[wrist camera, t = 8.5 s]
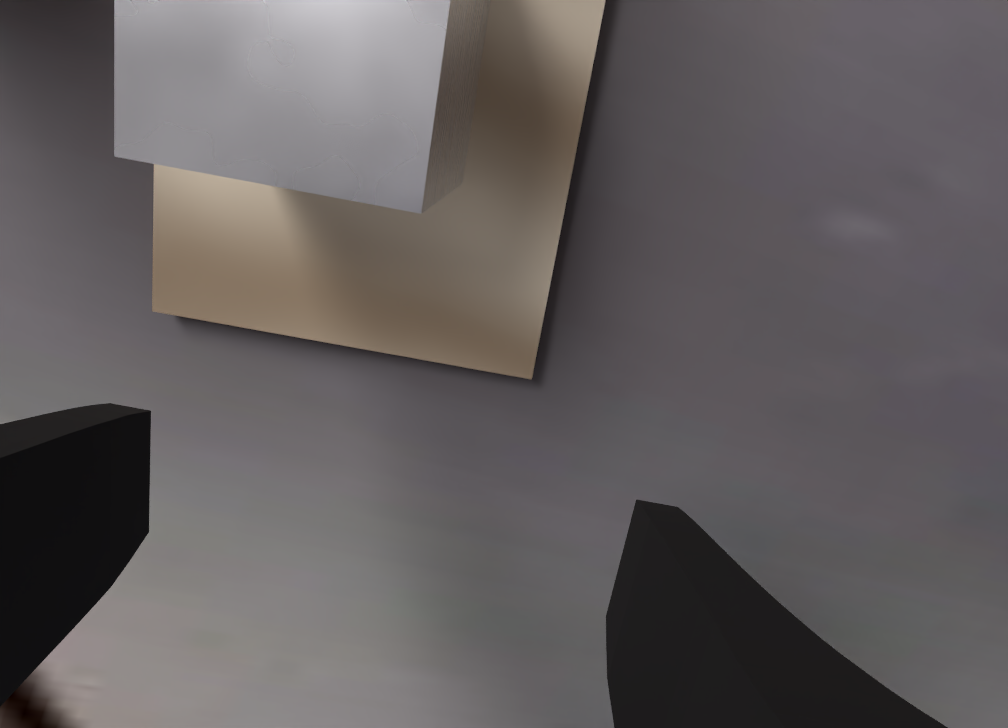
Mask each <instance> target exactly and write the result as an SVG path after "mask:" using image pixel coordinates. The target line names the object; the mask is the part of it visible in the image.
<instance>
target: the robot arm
mask: <svg viewBox="0 0 1008 728" xmlns="http://www.w3.org/2000/svg"><path fill="white" fill-rule="evenodd" d="M150 429H151V411H149V410H143V409H138V408H132V407H127V406H121V405H116V404H111V403H109V404H98V405H90V406H84V407H78V408H72V409H67V410H62V411H58V412H53V413H48V414H44V415H39V416H35V417H31V418H26V419H22V420H17V421H13V422H9V423H4V424H0V706H1V705H2V704H3V703H4V702H5V701H6V700H7V699H8V697H9V696H10V695H11V694H12V693H13V692H14V691H15V690H16V689H17V688H18V687H19V686H20V685H21V684H22V683H23V681H24V680H25V679H26V678H27V677H28V676H29V675H30V674H31V673H32V672H33V671H34V670H35V669H36V668H37V667H38V665H39V664H40V663H41V662H42V661H43V660H44V659H45V658H46V657H47V656H48V655H49V654H50V653H51V652H52V651H53V649H54V648H55V647H56V646H57V645H58V644H59V643H60V642H61V641H62V640H63V639H64V638H65V637H66V636H67V635H68V633H69V632H70V631H71V630H72V629H73V628H74V627H75V626H76V625H77V624H78V623H79V622H80V620H81V619H82V618H83V617H84V616H85V615H86V614H87V613H88V612H89V611H90V610H91V608H92V607H93V606H94V605H95V604H96V603H97V602H98V601H99V600H100V599H101V597H102V596H103V595H104V594H105V593H106V592H107V591H108V590H109V588H110V587H111V586H112V585H113V583H114V582H115V580H116V579H117V578H118V576H119V575H120V574H121V572H122V571H123V569H124V568H125V567H126V565H127V564H128V562H129V561H130V560H131V558H132V557H133V555H134V554H135V552H136V551H137V549H138V548H139V546H140V545H141V543H142V542H143V540H144V539H145V537H146V536H147V534H148V533H149V488H150ZM606 650H607V679H608V687H609V694H610V701H611V707H612V714H613V721H614V727H615V728H947V727H946V726H944V725H943V724H941V723H940V722H938V721H936V720H935V719H933V718H932V717H930V716H928V715H927V714H925V713H924V712H922V711H920V710H919V709H917V708H916V707H914V706H913V705H911V704H910V703H908V702H907V701H905V700H904V699H902V698H901V697H900V696H898V695H897V694H895V693H894V692H892V691H891V690H889V689H888V688H886V687H885V686H884V685H882V684H881V683H879V682H878V681H877V680H875V679H874V678H873V677H871V676H870V675H869V674H867V673H866V672H865V671H863V670H862V669H860V668H859V667H858V666H856V665H855V664H854V663H852V662H851V661H850V660H848V659H847V658H845V657H844V656H843V655H841V654H840V653H839V652H837V651H836V650H835V649H834V648H832V647H831V646H830V645H829V644H827V643H826V642H825V641H824V640H822V639H821V638H820V637H819V636H817V635H816V634H815V633H814V632H813V631H811V630H810V629H809V628H808V627H807V626H806V625H804V624H803V623H802V622H801V621H800V620H799V619H797V618H796V617H795V616H794V615H793V614H792V613H790V612H789V611H788V610H787V609H786V608H785V607H783V606H782V605H781V604H780V603H779V602H778V601H777V600H776V599H775V598H773V597H772V596H771V595H770V594H769V593H768V592H767V591H766V590H765V589H764V588H762V587H761V586H760V585H759V584H758V583H757V582H756V581H755V580H754V579H753V578H752V577H751V576H750V575H749V574H748V573H747V572H746V571H745V570H743V569H742V568H741V567H740V566H739V565H738V564H737V563H736V562H735V561H734V560H733V559H732V558H731V557H730V556H729V555H728V554H727V553H726V552H725V551H724V550H723V549H722V548H721V547H720V546H719V545H718V544H717V543H716V542H715V541H714V540H713V539H712V538H711V537H710V536H709V535H708V534H707V533H706V532H705V531H704V530H703V529H702V528H701V527H700V526H699V525H698V524H697V523H696V522H694V521H693V520H692V519H691V518H690V517H689V516H688V515H687V514H686V513H685V512H683V511H682V510H681V509H679V508H678V507H674V506H669V505H663V504H658V503H652V502H647V501H641V500H636V503H635V507H634V511H633V514H632V518H631V522H630V526H629V530H628V534H627V538H626V541H625V545H624V549H623V553H622V557H621V561H620V565H619V568H618V572H617V576H616V580H615V584H614V588H613V591H612V595H611V599H610V603H609V607H608V611H607V615H606Z"/></svg>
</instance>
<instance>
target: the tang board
mask: <svg viewBox="0 0 1008 728" xmlns="http://www.w3.org/2000/svg"><path fill="white" fill-rule="evenodd" d="M605 1H606V0H491V2H490V8H489V14H488V21H487V27H486V34H485V40H484V47H483V53H482V60H481V66H480V73H479V79H478V86H477V92H476V99H475V105H474V112H473V118H472V125H471V131H470V138H469V144H468V151H467V157H466V164H465V170H464V177H463V183H462V184H461V185H460V186H459V187H457V188H456V189H454V190H453V191H452V192H450V193H449V194H448V195H446V196H445V197H443V198H442V199H441V200H439V201H438V202H437V203H435V204H434V205H432V206H431V207H430V208H428V209H427V210H426V211H424V212H423V213H421V214H420V213H414V212H409V211H404V210H398V209H393V208H388V207H382V206H377V205H372V204H366V203H361V202H356V201H350V200H345V199H339V198H334V197H329V196H323V195H318V194H313V193H307V192H302V191H297V190H291V189H286V188H281V187H275V186H270V185H264V184H259V183H254V182H248V181H243V180H238V179H232V178H227V177H222V176H216V175H211V174H205V173H200V172H195V171H189V170H184V169H179V168H173V167H168V166H163V165H157V164H154V204H153V288H152V311H154V312H159V313H165V314H170V315H176V316H181V317H187V318H193V319H198V320H204V321H209V322H215V323H220V324H226V325H232V326H237V327H243V328H248V329H254V330H259V331H265V332H270V333H276V334H282V335H287V336H293V337H298V338H304V339H309V340H315V341H320V342H326V343H332V344H337V345H343V346H348V347H354V348H359V349H365V350H371V351H376V352H382V353H387V354H393V355H398V356H404V357H409V358H415V359H421V360H426V361H432V362H437V363H443V364H448V365H454V366H460V367H465V368H471V369H476V370H482V371H487V372H493V373H498V374H504V375H510V376H515V377H521V378H526V379H532V376H533V370H534V365H535V360H536V355H537V350H538V345H539V340H540V334H541V329H542V324H543V319H544V314H545V309H546V304H547V299H548V293H549V288H550V283H551V278H552V273H553V268H554V263H555V257H556V252H557V247H558V242H559V237H560V232H561V227H562V222H563V216H564V211H565V206H566V201H567V196H568V191H569V186H570V180H571V175H572V170H573V165H574V160H575V155H576V150H577V145H578V139H579V134H580V129H581V124H582V119H583V114H584V109H585V103H586V98H587V93H588V88H589V83H590V78H591V73H592V67H593V62H594V57H595V52H596V47H597V42H598V37H599V32H600V26H601V21H602V16H603V11H604V6H605Z"/></svg>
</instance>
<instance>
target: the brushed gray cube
mask: <svg viewBox="0 0 1008 728" xmlns="http://www.w3.org/2000/svg"><path fill="white" fill-rule="evenodd" d="M490 2H491V0H114V157H120V158H125V159H130V160H136V161H141V162H147V163H152V164H157V165H163V166H168V167H173V168H179V169H184V170H189V171H195V172H200V173H205V174H211V175H216V176H222V177H227V178H232V179H238V180H243V181H248V182H254V183H259V184H264V185H270V186H275V187H281V188H286V189H291V190H297V191H302V192H307V193H313V194H318V195H323V196H329V197H334V198H339V199H345V200H350V201H356V202H361V203H366V204H372V205H377V206H382V207H388V208H393V209H398V210H404V211H409V212H414V213H420V214H421V213H423V212H424V211H426V210H427V209H428V208H430V207H431V206H432V205H434V204H435V203H437V202H438V201H439V200H441V199H442V198H443V197H445V196H446V195H448V194H449V193H450V192H452V191H453V190H454V189H456V188H457V187H459V186H460V185H461V184H462V183H463V177H464V170H465V164H466V157H467V151H468V144H469V138H470V131H471V125H472V118H473V112H474V105H475V99H476V92H477V86H478V79H479V73H480V66H481V60H482V53H483V47H484V40H485V34H486V27H487V21H488V14H489V8H490Z"/></svg>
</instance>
